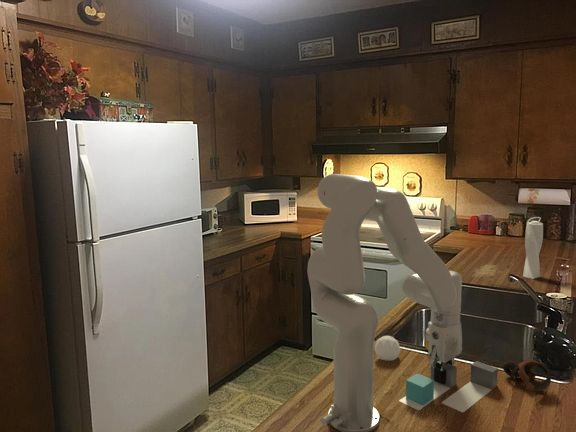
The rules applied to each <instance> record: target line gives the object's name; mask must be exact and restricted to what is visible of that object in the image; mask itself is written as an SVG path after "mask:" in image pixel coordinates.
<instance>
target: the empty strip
mask: <svg viewBox="0 0 576 432" xmlns="http://www.w3.org/2000/svg"><path fill="white" fill-rule="evenodd" d="M498 373H499V368H498V367H495V366H492V365H489V364H486V363H483V362H480V361H478V360H476V361H474V362H472V363H471V365H470V381H469V382H467V383H466V384H464V386H462V387H461V388H459V389H458V390H456V391H454V393H452V394H451V395H450V396H448V397H447V398H446V399H444V400H443V401H441V404H442V405H444V406H447V407H449V408H452V409H454V410H456V411H458V412H461V413H465V412H466V411H467V410H468V409H470V408H471V407H472V406H473V405H475V404H476V403H477V402H478V401H479V400H481V399H482V398H484V397H485V396H486V395H488V393H490V392H491V391H493V389H495V388H496V387H498Z"/></svg>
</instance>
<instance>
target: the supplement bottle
mask: <svg viewBox="0 0 576 432" xmlns="http://www.w3.org/2000/svg"><path fill="white" fill-rule="evenodd" d="M431 323H432V322H431V320H430V321H428V323H427V324H428V325H427V328H426V329H425V343H424V344H425V345H424V348H425V350H427V351H428V352H429V335H430V328H431Z"/></svg>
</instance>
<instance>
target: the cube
mask: <svg viewBox="0 0 576 432" xmlns="http://www.w3.org/2000/svg"><path fill="white" fill-rule="evenodd" d="M405 381H406V382H405V396H406V398H407V399H410V400H412V401H414V402H416V403H418V404H420V405H422V406H423V405H424V404H426V403H427V402H429V401H430V400H431V399H433V398H434V380H432V379H431V377H430V378H429V377H427V376H425V375H422V374H419V373H416V374H414V375H412V376H410V377H409V378H407V379H406V380H405Z"/></svg>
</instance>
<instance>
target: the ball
mask: <svg viewBox="0 0 576 432" xmlns="http://www.w3.org/2000/svg"><path fill="white" fill-rule="evenodd" d="M373 350H374V352H375V356H376V357H377V358H379V359H380V360H382V361H386V362H388V361H391V362H392V361H395V360H396V359H397V358H399V356H400V353H401V346H400V343H399V341H398V340H397V339H395V338H394V337H393V336H392V335H382V336H381V337H379V338H378V339H376V342H375V343H374V348H373Z"/></svg>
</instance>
